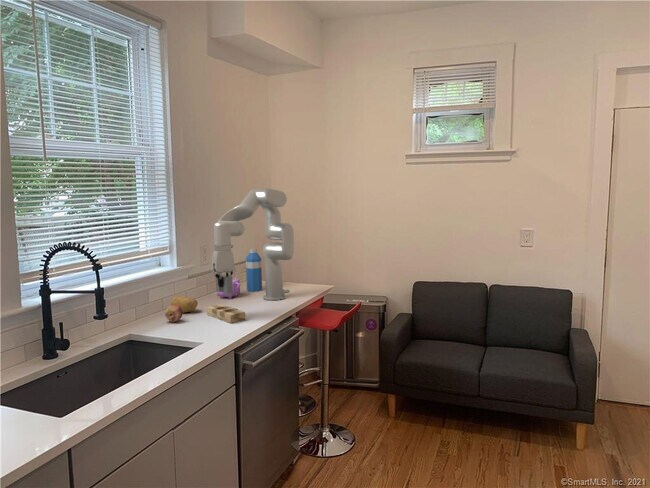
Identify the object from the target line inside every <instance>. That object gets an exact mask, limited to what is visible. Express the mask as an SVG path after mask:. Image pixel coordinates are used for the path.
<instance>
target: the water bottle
mask: <svg viewBox="0 0 650 488" xmlns="http://www.w3.org/2000/svg"><path fill="white" fill-rule="evenodd" d="M257 251H258V250H257V248H250V249H249V253H248V255H247V256H246V257H245V273H246V274H245V275H246V277H245V278H246V291H248V292H251V293H252V292H260V291H263V277H262V276H263V275H262V273H263V272H262V270H263V269H262V257H261V256H260V255H259V253H258V252H257Z"/></svg>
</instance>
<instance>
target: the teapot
mask: <svg viewBox="0 0 650 488" xmlns="http://www.w3.org/2000/svg"><path fill="white" fill-rule="evenodd" d="M240 282H241V279H238V277H235V278H234V279H233V278H232V285H233V293H232V294H224V292H217V291H216V293H217V294H216V296H217V297H220V299H224V298H228V299H229V300H232V299H233V297H234V298H237V297H238V295H239V294H241V283H240Z"/></svg>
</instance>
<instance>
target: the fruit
mask: <svg viewBox="0 0 650 488" xmlns="http://www.w3.org/2000/svg"><path fill="white" fill-rule="evenodd" d="M164 316H165V318H166V319H167V320H168V321H169V322H171V323H177V322H179V320H181V318H182V317H183V313H182V309H181V307H180V306H178V305H172V304H170V305H169V306H168V307H167V308H166V309H165V312H164Z"/></svg>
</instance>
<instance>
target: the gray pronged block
mask: <svg viewBox="0 0 650 488" xmlns="http://www.w3.org/2000/svg"><path fill="white" fill-rule="evenodd" d="M222 279H223V287H219V286H218V279H217V278H216V277H215V290H216V293H217V292H224V294H232V293H233V285H232V279H233V276H227V275H226V274H222Z"/></svg>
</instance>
